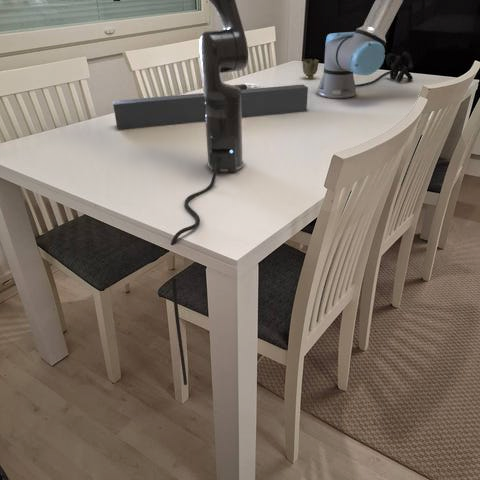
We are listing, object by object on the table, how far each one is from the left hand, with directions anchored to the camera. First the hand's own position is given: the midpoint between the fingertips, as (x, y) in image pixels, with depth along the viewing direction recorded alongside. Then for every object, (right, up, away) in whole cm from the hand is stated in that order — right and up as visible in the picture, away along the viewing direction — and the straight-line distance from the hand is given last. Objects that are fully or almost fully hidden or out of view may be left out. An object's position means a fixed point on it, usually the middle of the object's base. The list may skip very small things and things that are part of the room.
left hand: (116, 0), depth 131 cm
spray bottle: (+34, -10, +54) cm, 65 cm away
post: (+28, -28, +26) cm, 47 cm away
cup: (+69, +4, +75) cm, 102 cm away
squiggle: (+108, +1, +69) cm, 129 cm away
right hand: (+54, +7, +13) cm, 56 cm away
